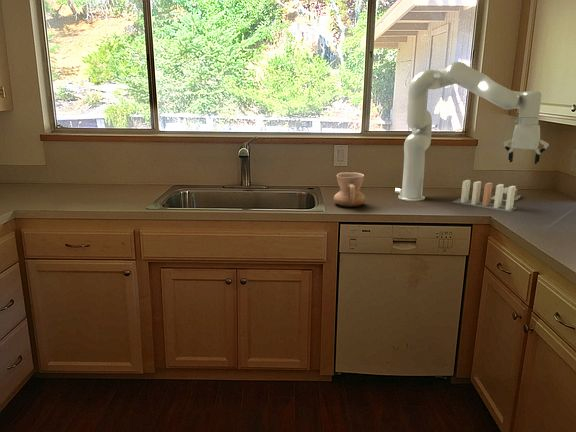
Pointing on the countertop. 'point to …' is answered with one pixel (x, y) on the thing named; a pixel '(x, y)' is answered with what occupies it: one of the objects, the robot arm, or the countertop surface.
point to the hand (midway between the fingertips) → (523, 162)
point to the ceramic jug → (350, 189)
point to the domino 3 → (487, 194)
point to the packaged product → (506, 194)
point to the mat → (484, 206)
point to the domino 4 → (498, 195)
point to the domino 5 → (510, 197)
